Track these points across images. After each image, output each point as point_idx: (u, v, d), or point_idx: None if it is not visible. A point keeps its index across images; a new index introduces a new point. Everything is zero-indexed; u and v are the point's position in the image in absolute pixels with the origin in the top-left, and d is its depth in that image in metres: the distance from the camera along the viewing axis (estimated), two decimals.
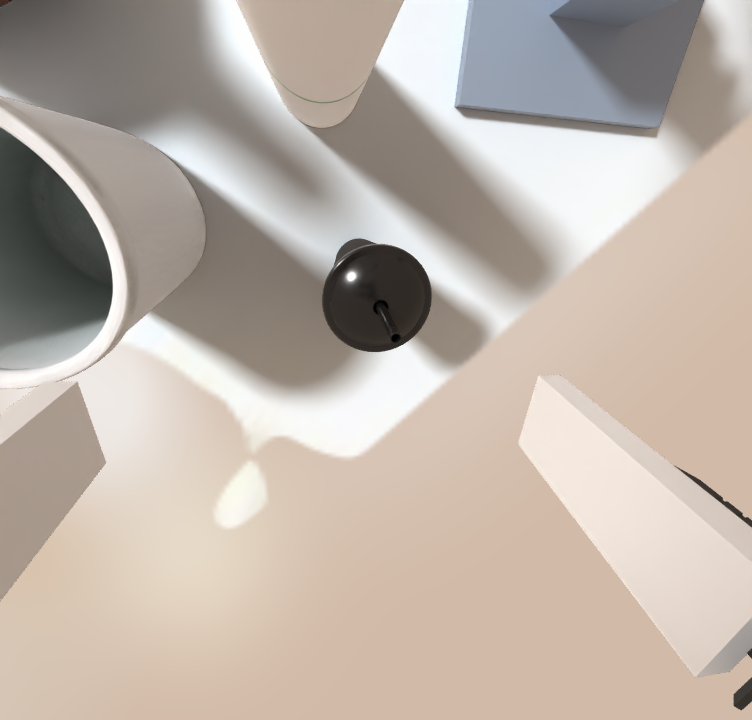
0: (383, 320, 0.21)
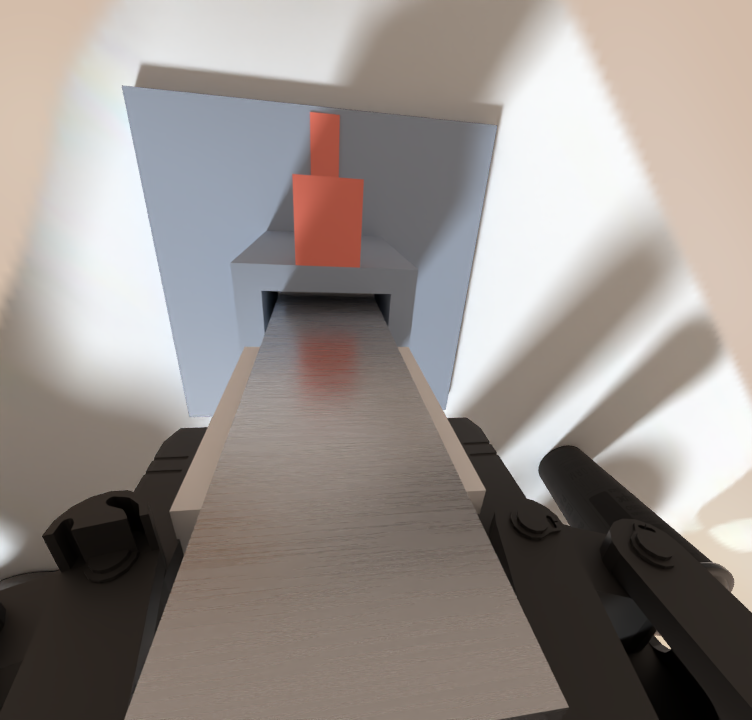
0: None
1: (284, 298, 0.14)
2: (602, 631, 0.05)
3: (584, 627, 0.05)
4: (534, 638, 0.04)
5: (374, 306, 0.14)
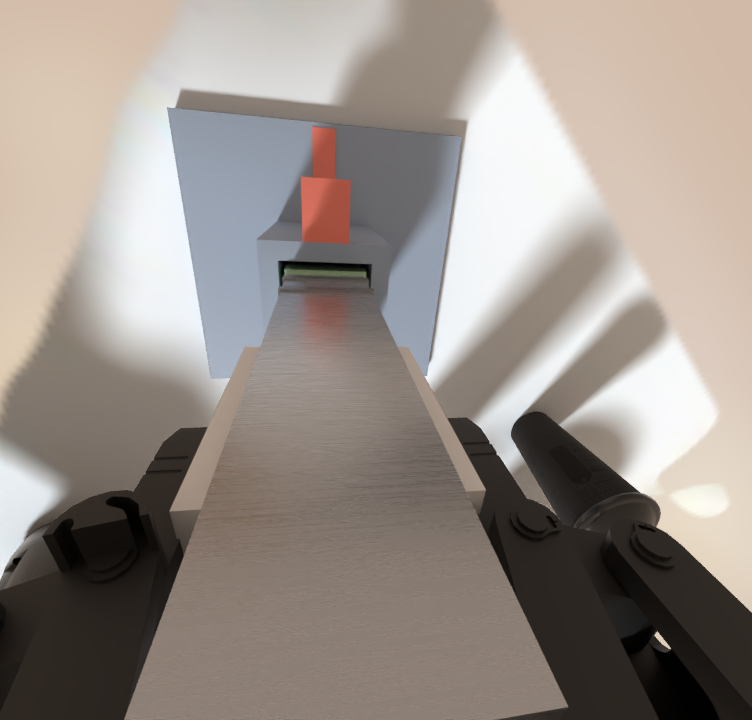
0: None
1: (284, 298, 0.14)
2: (602, 631, 0.05)
3: (584, 627, 0.05)
4: (533, 638, 0.04)
5: (374, 306, 0.14)
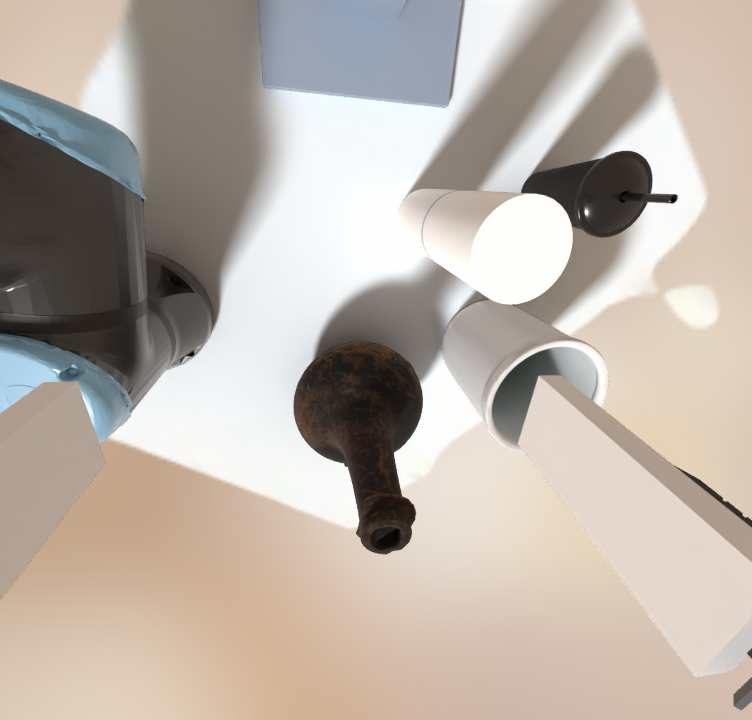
0: (646, 201, 0.31)
1: None
2: None
3: None
4: None
5: None
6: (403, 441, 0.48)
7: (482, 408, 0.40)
